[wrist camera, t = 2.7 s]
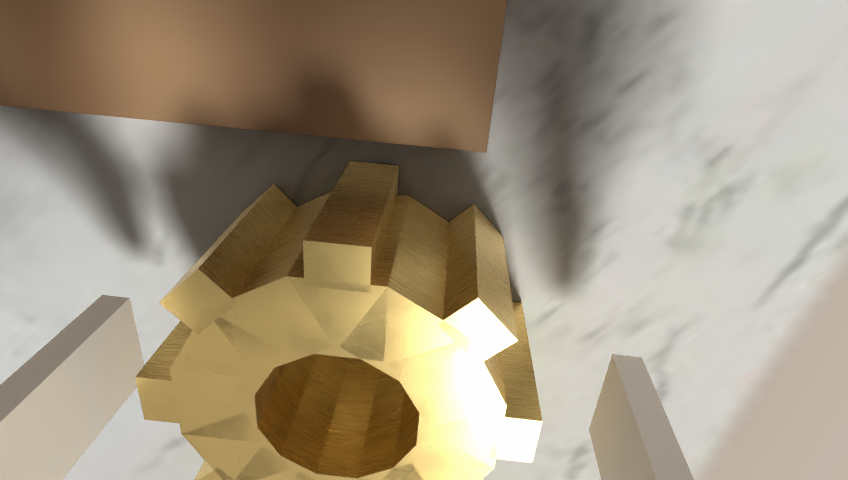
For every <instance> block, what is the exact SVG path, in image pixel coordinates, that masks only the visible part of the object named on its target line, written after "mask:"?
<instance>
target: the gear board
mask: <svg viewBox="0 0 848 480" xmlns="http://www.w3.org/2000/svg"><path fill="white" fill-rule="evenodd" d="M506 6H507V0H0V105H2V106H12V107H23V108H33V109H43V110H53V111H64V112H74V113H84V114H95V115H105V116H115V117H126V118H136V119H146V120H156V121H167V122H177V123H187V124H198V125H208V126H218V127H229V128H239V129H249V130H260V131H270V132H280V133H290V134H301V135H311V136H321V137H332V138H342V139H352V140H363V141H373V142H383V143H393V144H404V145H414V146H424V147H435V148H445V149H455V150H466V151H476V152H486V151H487V144H488V137H489V129H490V122H491V115H492V108H493V100H494V93H495V86H496V79H497V71H498V64H499V57H500V50H501V42H502V35H503V28H504V21H505V13H506Z"/></svg>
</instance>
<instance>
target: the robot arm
mask: <svg viewBox="0 0 848 480" xmlns="http://www.w3.org/2000/svg"><path fill="white" fill-rule="evenodd" d="M143 367H144V362H143V357H142V353H141V348H140V344H139V339H138V335H137V330H136V325H135V321H134V316H133V312H132V307H131V302H130V298H124V297H115V296H107V295H102V296H101V297H100V298H99V299H97V300H96V301H95V302H94V303H93V304H92V305H91V306H89V307H88V308H87V309H86V310H85V311H84V312H83V313H82V314H80V315H79V316H78V317H77V318H76V319H75V320H74V321H72V322H71V323H70V324H69V325H68V326H67V327H66V328H65V329H63V330H62V331H61V332H60V333H59V334H58V335H57V336H55V337H54V338H53V339H52V340H51V341H50V342H49V343H48V344H46V345H45V346H44V347H43V348H42V349H41V350H40V351H38V352H37V353H36V354H35V355H34V356H33V357H32V358H31V359H29V360H28V361H27V362H26V363H25V364H24V365H23V366H21V367H20V368H19V369H18V370H17V371H16V372H15V373H13V374H12V375H11V376H10V377H9V378H8V379H7V380H6V381H4V382H3V383H2V384H1V385H0V480H62V479H63V478H64V477H65V476H66V474H67V473H68V472H69V471H70V469H71V468H72V467H73V466H74V464H75V463H76V462H77V461H78V459H79V458H80V457H81V456H82V454H83V453H84V452H85V451H86V449H87V448H88V447H89V446H90V444H91V443H92V442H93V441H94V439H95V438H96V437H97V436H98V434H99V433H100V432H101V431H102V430H103V428H104V427H105V426H106V425H107V423H108V422H109V421H110V420H111V418H112V417H113V416H114V415H115V413H116V412H117V411H118V410H119V408H120V407H121V406H122V405H123V403H124V402H125V401H126V400H127V398H128V397H129V396H130V395H131V393H132V392H133V391H134V390H135V388H136V387H137V383H136V379H135V376H136V375H137V374H138V373H139V372H140V370H141V369H142V368H143ZM589 430H590V434H591V438H592V443H593V447H594V451H595V455H596V459H597V463H598V467H599V471H600V475H601V479H602V480H694V479H693V477H692V474H691V472H690V470H689V467H688V465H687V463H686V460H685V458H684V456H683V453H682V451H681V449H680V446H679V444H678V442H677V439H676V437H675V435H674V432H673V430H672V427H671V425H670V423H669V420H668V418H667V416H666V413H665V411H664V409H663V406H662V404H661V402H660V399H659V397H658V395H657V392H656V390H655V388H654V385H653V383H652V381H651V378H650V376H649V373H648V371H647V369H646V366H645V364H644V362H643V359H642V358H640V357H631V356H623V355H614V354H612V357H611V361H610V364H609V367H608V370H607V374H606V377H605V380H604V383H603V386H602V390H601V393H600V396H599V399H598V402H597V406H596V409H595V412H594V415H593V418H592V422H591V425H590V428H589Z"/></svg>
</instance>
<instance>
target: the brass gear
mask: <svg viewBox="0 0 848 480" xmlns="http://www.w3.org/2000/svg"><path fill="white" fill-rule="evenodd" d="M398 174H399V166H398V165H388V164H378V163H367V162H357V161H350V162H349V164H348V166H347V167H346V169H345V171H344V172H343V174H342V176H341V177H340V179H339V181H338V182H337V184H336V186H335V187H334V189H333V191H331V192H329V193H327V194H325V195H322V196H320V197H318V198H315V199H313V200H311V201H309V202H306V203H304V204H302V205H300V206H296V205H295V204H294V203H293V202H292V201H291V200H290V199H289V198H288V197H287V196H286V195H285V194H284V193H283V192H282V191H281V190H280V189H279V188H278V187H277V186H276V185H275V184H273V185H272V186H271V187H270V188H269V189H267V190H266V191H265V192H264V193H263V194H262V195H261V196H260V197H258V198H257V199H256V200H255V201H254V202H253V203H252V204H251V205H249V206H248V207H247V208H246V209H245V210H244V211H243V212H242V213H241V214H240V215H239V216H238V217H237V218H236V220H235V221H234V222H233V223H232V224H231V225H230V226H229V227H228V228H227V229H226V230H225V232H224V233H223V234H222V235H221V236H220V237H219V238H218V239H217V240H216V241H215V242H214V244H213V245H212V246H211V247H210V248H209V249H208V250H207V251H206V252H205V253H204V254H203V255H202V257H201V258H200V259H199V260H198V261H197V262H196V263H195V264H194V265H193V266H192V267H191V269H190V270H189V271H188V272H187V273H186V274H185V275H184V276H183V277H182V278H181V279H180V281H179V282H178V283H177V284H176V285H175V286H174V287H173V288H172V289H171V290H170V291H169V293H168V294H167V295H166V296H165V297H164V298H163V299H162V300H161V301H160V302H159V303H160V304H161V305H163V306H164V307H165V308H166V309H167V310H169V311H170V312H171V313H172V314H173V315H175V316H176V317H177V318H178V319H180V320H181V321H180V322H179V323H178V325H177V326H176V327H175V328H174V330H173V331H172V332H171V333H170V334H169V336H168V337H167V338H166V339H165V341H164V342H163V343H162V344H161V346H160V347H159V348H158V349H157V351H156V352H155V353H154V354H153V355H152V357H151V358H150V359H149V360H148V362H147V363H146V364H145V365H144V367H143V368H142V369H141V370H140V372H139V373H138V374H137V375H136V376H135V379H136V383H137V388H138V392H139V397H140V401H141V405H142V410H143V414H144V419H146V420H154V421H163V422H172V423H180V428H181V434H182V435H183V436H184V437H185V438H186V439H187V440H188V442H189V443H190V444H191V445H192V446H193V447H194V448H195V449H196V451H197V452H198V453H199V454H200V455H201V456H202V457H203V458H204V459H205V461H204V463H203V465H202V467H201V468H200V470H199V472H198V474H197V476H196V478H195V480H482V479H483V478H484V477H485V476H486V475H487V474H488V473H490V472H491V471H492V470H493V469H494V465H495V460H496V459H504V460H513V461H522V462H531V463H532V461H533V457H534V453H535V449H536V445H537V441H538V437H539V433H540V429H541V425H542V417H541V411H540V406H539V400H538V394H537V388H536V382H535V376H534V371H533V365H532V359H531V353H530V347H529V341H528V336H527V330H526V324H525V318H524V312H523V306H522V303H517V302H512V296H511V289H510V282H509V275H508V269H507V262H506V255H505V248H504V241H503V237H502V235H501V234H500V233H499V232H498V231H497V230H496V228H495V227H494V226H493V225H492V224H491V223H490V221H489V220H488V219H487V218H486V217H485V216H484V214H483V213H482V212H481V211H480V210H479V209H478V207H477V206H476V205H475V204H473V205H472V206H470V207H469V208H468V209H466V210H465V211H463V212H462V213H461V214H459V215H458V216H457V217H455V218H454V219H453V220H451V221H450V222H448V221H447V220H445V219H444V218H442V217H441V216H439V215H438V214H436V213H435V212H433V211H432V210H430V209H429V208H427V207H426V206H424V205H423V204H421V203H420V202H418V201H417V200H415V199H414V198H412V197H411V196H405V195H397V191H398Z"/></svg>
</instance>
